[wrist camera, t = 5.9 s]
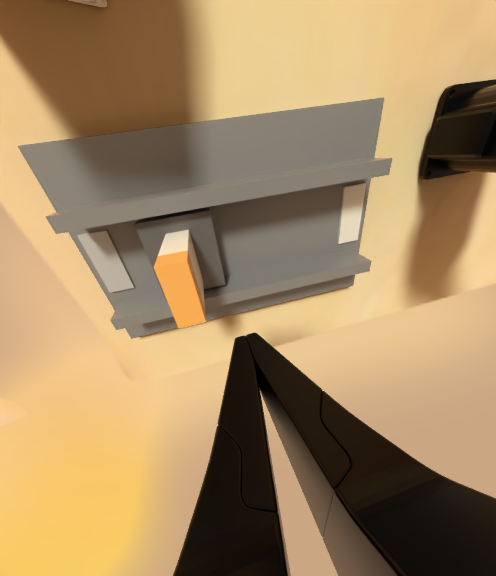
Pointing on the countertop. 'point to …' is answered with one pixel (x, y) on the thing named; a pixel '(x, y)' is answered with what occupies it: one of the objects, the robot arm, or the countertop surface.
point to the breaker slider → (183, 260)
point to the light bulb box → (92, 2)
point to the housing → (221, 203)
